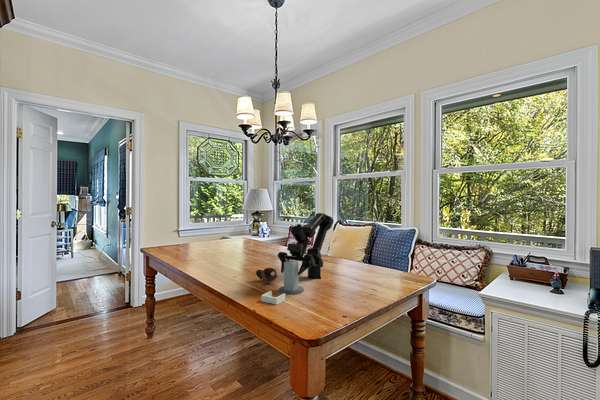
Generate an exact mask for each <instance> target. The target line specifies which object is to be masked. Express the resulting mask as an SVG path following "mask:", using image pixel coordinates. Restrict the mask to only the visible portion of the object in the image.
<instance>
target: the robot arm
mask: <svg viewBox="0 0 600 400" xmlns="http://www.w3.org/2000/svg"><path fill="white" fill-rule="evenodd" d="M333 225H334V219H333V217H332V216H329V215H327V214H326V213H322V212H321V213H320V212H318V213H316V214H315V216H314V217H313V218H312V219H311V220H310V221H309V222H308V223H307V224H304V225H302V224H300V223H298V224H296V225H294V226H292V228H291V229H290V234H291V236H292V237H293V239H294V240H295V241H296V243H288V244H287V248H286V251H289V254H290V255H289V254H288V253H287V252H285V251H279V252H278V253H277V255H276V256H277V258H278V259H279V261H280V262H281V265H280V273H281V274H284V262H286V261H289V260H292V261H298V262H301V265H300V267H299V268H298V276H301V274H303V273H304V272H305V271H306V270H307V277H308V279H309V280H310V279H311V280H313V279H314V280H315V279H321V278H322V277H321V276H322V275H321V269H322V268H323V267H324V260H323V258H322V254H321V253H322V252H321V251H322V247H323V245H324V241H325V238H326V235H327V232H328V231H329V230H330V229H331V228H332V226H333ZM318 227H319V228H318ZM317 229H318V230H317ZM316 230H317V233H316ZM315 235H316V236H315ZM314 236H315V239H314V241H313V244H312V247H311V248H308V246H311V242H310V239H309V238H311V239H313V238H314Z"/></svg>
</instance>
